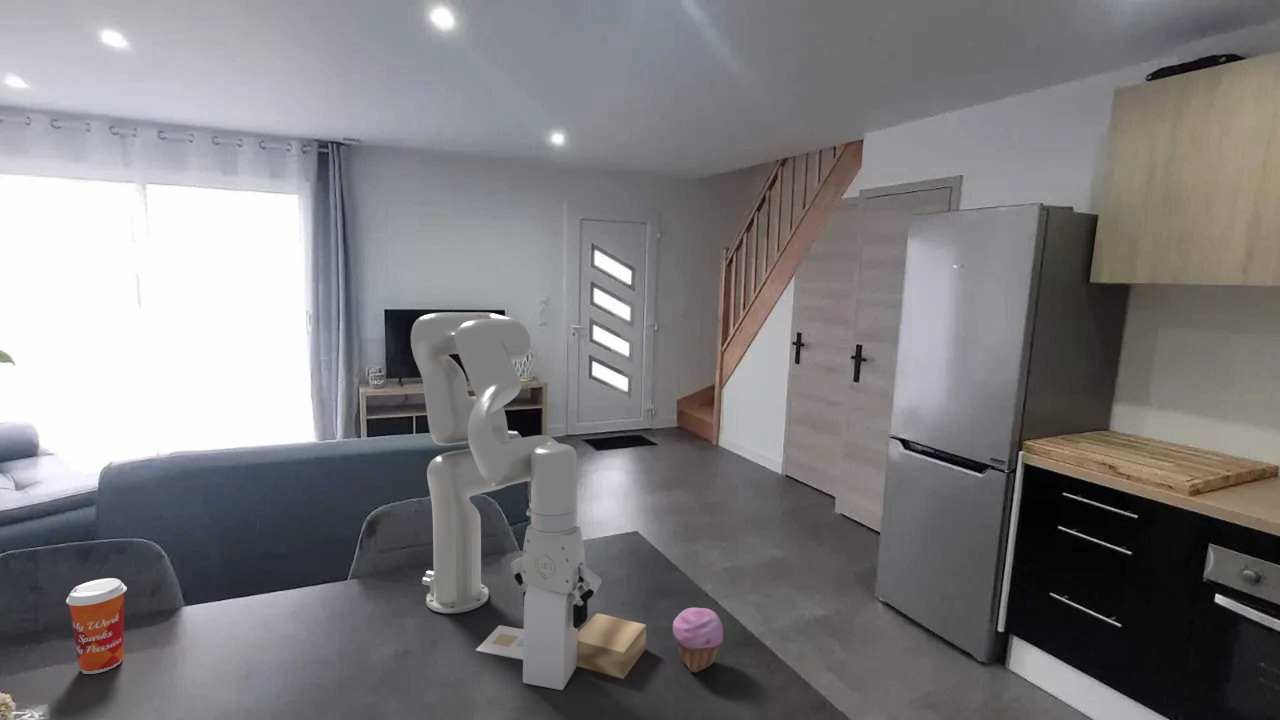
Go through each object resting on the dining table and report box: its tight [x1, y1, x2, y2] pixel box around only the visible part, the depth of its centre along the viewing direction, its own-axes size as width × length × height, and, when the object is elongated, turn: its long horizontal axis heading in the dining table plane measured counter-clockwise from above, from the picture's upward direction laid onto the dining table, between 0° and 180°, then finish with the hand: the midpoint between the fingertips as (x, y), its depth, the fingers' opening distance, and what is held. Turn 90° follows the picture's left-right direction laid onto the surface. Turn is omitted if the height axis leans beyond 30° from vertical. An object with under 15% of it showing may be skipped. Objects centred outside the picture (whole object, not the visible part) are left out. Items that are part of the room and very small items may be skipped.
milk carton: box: [522, 584, 580, 691], centre depth 108 cm, size 7×7×19 cm
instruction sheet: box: [475, 624, 524, 661], centre depth 119 cm, size 12×9×1 cm
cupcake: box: [672, 607, 724, 673], centre depth 113 cm, size 9×9×10 cm
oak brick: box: [577, 612, 647, 680], centre depth 115 cm, size 10×10×5 cm
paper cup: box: [65, 577, 128, 671], centre depth 109 cm, size 8×8×14 cm
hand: (554, 618), depth 108 cm, fingers open, 9 cm apart
